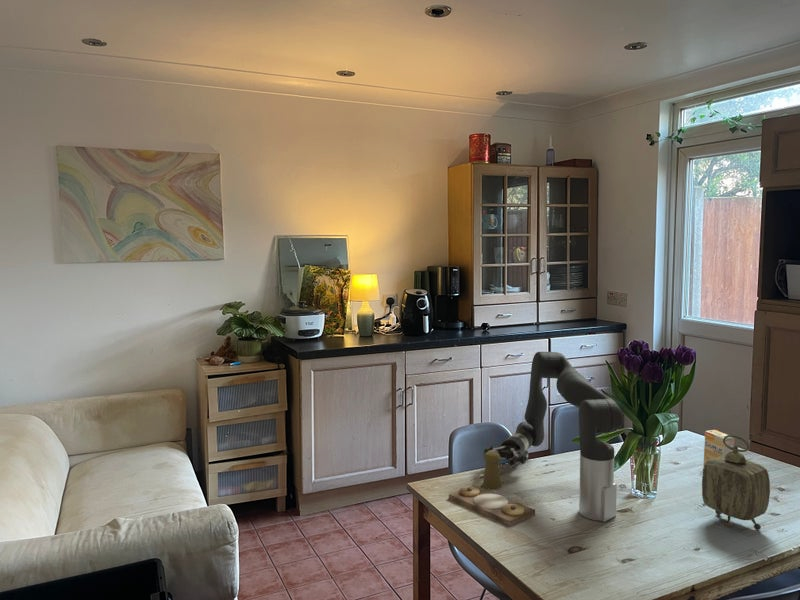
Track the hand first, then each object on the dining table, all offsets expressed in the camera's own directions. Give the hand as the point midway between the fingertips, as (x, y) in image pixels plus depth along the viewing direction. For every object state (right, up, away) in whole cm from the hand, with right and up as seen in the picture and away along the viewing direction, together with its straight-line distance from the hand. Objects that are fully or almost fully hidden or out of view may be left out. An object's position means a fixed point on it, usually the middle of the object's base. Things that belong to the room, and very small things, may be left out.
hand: (498, 460), depth 195 cm
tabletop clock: (+59, -9, -32) cm, 68 cm away
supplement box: (+76, -5, +7) cm, 76 cm away
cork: (-3, -7, -4) cm, 9 cm away
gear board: (-6, -8, -19) cm, 22 cm away
